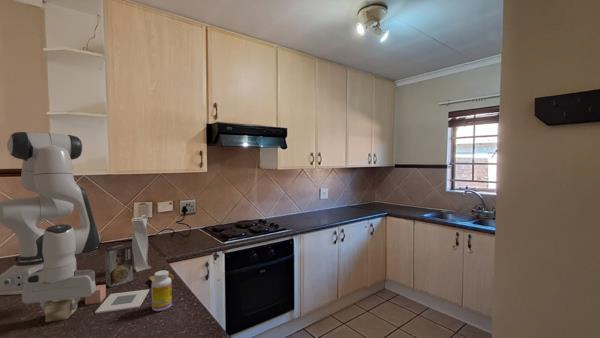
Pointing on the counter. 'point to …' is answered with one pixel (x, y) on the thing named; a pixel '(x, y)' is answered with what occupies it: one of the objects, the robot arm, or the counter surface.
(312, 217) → the counter surface
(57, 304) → the birch block
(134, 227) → the skyscraper
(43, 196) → the robot arm
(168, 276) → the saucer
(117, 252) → the coffee box
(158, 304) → the supplement bottle
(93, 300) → the coral cube
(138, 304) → the white flat square slab
